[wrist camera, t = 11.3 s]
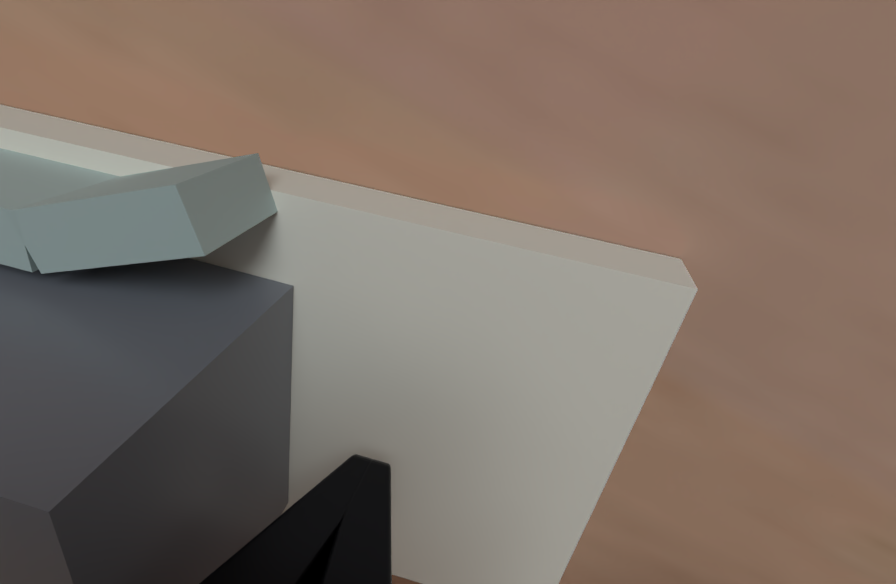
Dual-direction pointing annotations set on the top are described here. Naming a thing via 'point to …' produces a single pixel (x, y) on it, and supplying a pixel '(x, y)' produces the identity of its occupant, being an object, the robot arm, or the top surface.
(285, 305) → the grey block
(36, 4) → the top surface
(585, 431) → the board
